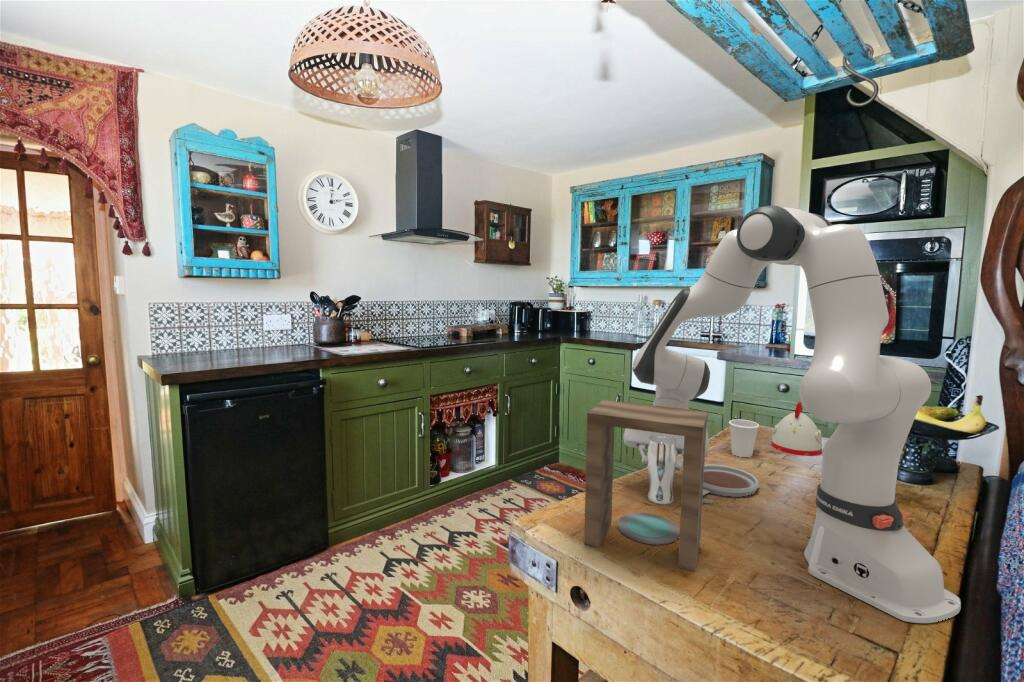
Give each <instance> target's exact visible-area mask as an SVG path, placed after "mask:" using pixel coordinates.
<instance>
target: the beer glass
mask: <svg viewBox="0 0 1024 682" xmlns="http://www.w3.org/2000/svg"><path fill="white" fill-rule="evenodd" d="M661 437H665V438H668V439H670V440H671V441H672V442H673V443H669V444H665V443H658V442H654V440H656V439H658V438H661ZM646 452H647V453H646V456H647V463H648V465H647V470H648V477H649V489H648V493H647V500H649V502H652V503H654V504H657V505H671V504H672V503H674V492H673V483H674V479H675V475H676V471H677V470H676V468H675V466H676V463H677V461H678V454H677V440H676V439H675V438H673V437H669V436H664V435H654V436H650V437H649V442H648V449H646Z"/></svg>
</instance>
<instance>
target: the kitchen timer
mask: <svg viewBox="0 0 1024 682" xmlns="http://www.w3.org/2000/svg"><path fill="white" fill-rule="evenodd" d="M822 442H823V439H822V433H821V429H818V427H817V425H816V424H815V422H814V421H813V420H812V419H811V418H810V417H809V416H808V415H806V414H805V413H803V404H802V401H798V402H797V403H796V404H795V409H794V412H790V413H789V414H787V415H785V416H784V417H783V418H782V419H781V420H780V421H779V422H778V423H776V424H774V429H773V431H772V438H771V447H772V446H773V447H774V448H773V447H772V448H773V449H775V448H776V449H775V450H777V451H779V450H780V451H779V452H782V453H786V454H788V455H789V454H790V455H794V456H803V457H816V456H819V455H822V454H823V446H822V445H823V443H822Z"/></svg>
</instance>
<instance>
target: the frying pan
mask: <svg viewBox="0 0 1024 682" xmlns="http://www.w3.org/2000/svg"><path fill="white" fill-rule="evenodd" d="M758 488H760V483H759V480H758V478H757V477H756V476H754V475H753V474H752V473H750V472H748V471H746V470H743V469H740V468H737V467H734V466H728V465H723V464H712V463H711V464H710V463H709V464H708V463H707V464H704V481H703V496H705V495H706V494H712V495H716V496H721V495H722V496H723V497H727V496H731V497H730V498H742V496H745V497H749V496H752V495H754V494H755V493H756V492H757V490H758ZM755 491H756V492H755ZM681 493H682V489H681ZM751 494H752V495H751ZM748 495H749V496H748ZM703 503H704V504H710V505H711V504H714V500H713V499H706V498H703V500H702V504H703Z"/></svg>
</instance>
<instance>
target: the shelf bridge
mask: <svg viewBox="0 0 1024 682" xmlns="http://www.w3.org/2000/svg"><path fill="white" fill-rule="evenodd" d="M708 412H709V411H708V410H707V411H706V410H699V409H692V410H691V408H689V409H682V408H673V407H663V406H654V405H653V404H646V403H644V404H643V403H637V402H635V403H634V402H626V401H616V400H607V399H603V400H601V401H600V402H599V403H598V404H597V405H595V406H594V407H592V409H590V410H589V411H588V412H586V414H587V415H586V445H585V446H586V452H585V454H586V456H585V488H584V489H585V491H584V492H585V493H584V494H585V495H584V497H585V498H584V534H583V535H584V536H583V538H584V539H583V544H584V545H586V544H587V545H586V546H590V547H595V548H600V546H601V545H602V542H603V541H604V539H605V537H606V535H607V533H608V532H609V530H610V528H611V526H612V522H613V521H612V518H613V517H612V515H613V511H612V510H613V482H614V455H615V454H614V451H615V450H614V449H615V448H614V447H615V428H621V429H626V428H627V429H635V430H642V431H650V432H657V433H665V434H672V435H680V436H684V455H683V457H682V458H683V468H682V478H681V479H682V480H681V482H682V483H681V490H682V492H681V498H680V521H679V524H680V525H679V526H678V525H677V523H675V522H674V521H672V520H670V519H669V518H666V517H665V516H664V517H663V516H661V515H658V514H654V513H648V512H634V513H628V514H626V515H625V514H624V515H622V516H621V517H620V518H619V519H618V520H617V523H616V526H617V529H618V532H620V533H621V535H623V536H624V537H626V538H628V539H629V538H630V539H629V540H631V539H632V540H631V541H634V542H636V541H637V543H640V542H641V544H644V543H645V545H650V544H652V546H660V545H659V544H665V545H669V544H668V543H670V544H672V543H671V542H673V543H675V542H676V540H677V541H678V540H679V541H678V558H677V559H678V560H677V561H678V562H677V564H678V565H677V568H678V569H679V568H680V569H684V570H687V571H692V572H696V570H697V563H698V560H699V559H698V558H699V554H698V553H699V552H700V548H701V535H702V534H701V533H702V517H703V516H702V514H703V502H702V500H703V499H704V498H703V496H704V495H703V481H704V465H705V459H706V457H705V444H706V428H707V424H708V415H709V413H708ZM679 537H680V538H679ZM674 541H675V542H674Z"/></svg>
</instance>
